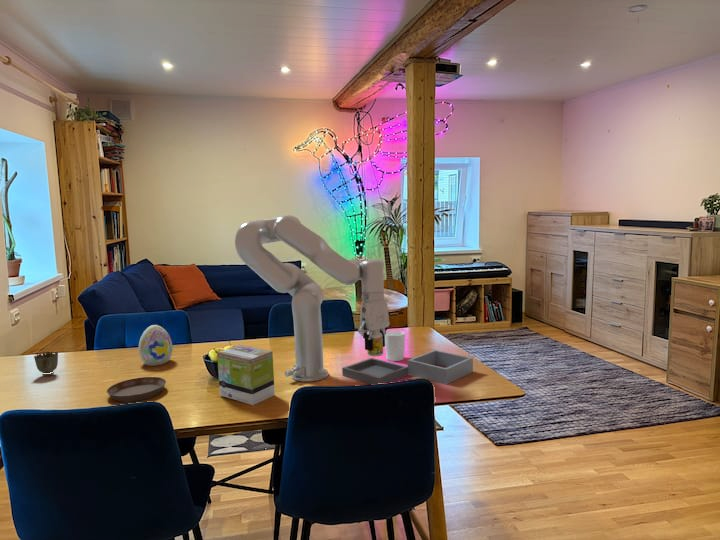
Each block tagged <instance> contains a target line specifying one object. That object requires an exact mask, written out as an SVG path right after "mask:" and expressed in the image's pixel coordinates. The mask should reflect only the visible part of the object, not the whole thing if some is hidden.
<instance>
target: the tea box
mask: <svg viewBox="0 0 720 540" xmlns="http://www.w3.org/2000/svg"><path fill="white" fill-rule="evenodd" d="M216 355H217V356H216V357H217V370H218V371H217V372H218V385H219V396H220V397H224V398H227V399H231V400H235V401H237V402H241V403H244V404H247V405H250V406H256V405H257V404H259V403H261V402H263V401H265V400H268V399H270V398H271V397H273V396H275V376H274V375H275V374H274V372H275V371H274V357H273V356H274V355H273V350H268V349H263V348H259V347H252V346H248V345H242V344H238V345H235V346H232V347H230V348H227V349H224V350H221V351H217V352H216Z"/></svg>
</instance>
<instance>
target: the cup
mask: <svg viewBox="0 0 720 540" xmlns="http://www.w3.org/2000/svg"><path fill="white" fill-rule="evenodd" d="M33 358H34V362H35V366H36V369H37V370H38V371H39V372H40V373H41V374H42V373H50V372H53V371H54V372H53V373H51V374H42V376H43V377H51V376H53V375H54V374H55V370H56V369H57V367H58V364H59V363H58V362H59V361H58V360H59V352H58V351H55V352H54V353H53V351H51V352H50V351H47V352H46V353H45V352H43V353H42V354H41V353H38V354H36V355H34V356H33Z"/></svg>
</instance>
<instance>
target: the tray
mask: <svg viewBox="0 0 720 540" xmlns="http://www.w3.org/2000/svg"><path fill="white" fill-rule="evenodd" d="M341 369H342V376H343V377H346V378H349V379H352V380H356V381H359V382H363V383H365V384H369V385H372V384H378V383H387V384H389V383H392V382H394V381H397V380H399V379H401V378H404V377H407V376H408V375H409V374H408V366H406V365H402V364H398V363H394V362H390V361H386V360H382V359H378V358H374V357H369V358H367V359H363V360H361V361H358V362H356V363H353V364H349V365H348V366H347V365H346V366H344V367H342V368H341Z"/></svg>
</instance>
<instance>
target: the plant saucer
mask: <svg viewBox="0 0 720 540" xmlns="http://www.w3.org/2000/svg"><path fill="white" fill-rule="evenodd" d="M166 383H167V380H166V379H164V378H163V377H157V376H144V377H136V378H131V379H126V380H122V381H119V382H117V383H114V384H113V385H110V386H109V387H108V388H107V389H106V393H107V394H108V396H109V397H110V398H111V399H112V400H114V401H117V402H121V403H122V402H125V403H128V402H137V401H138V402H139V401H142V400H146V399H149V398H152V397H154V396H157V395H158V394H160V393H161V392H162V390H163V389H164V387H165V385H166Z"/></svg>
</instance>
